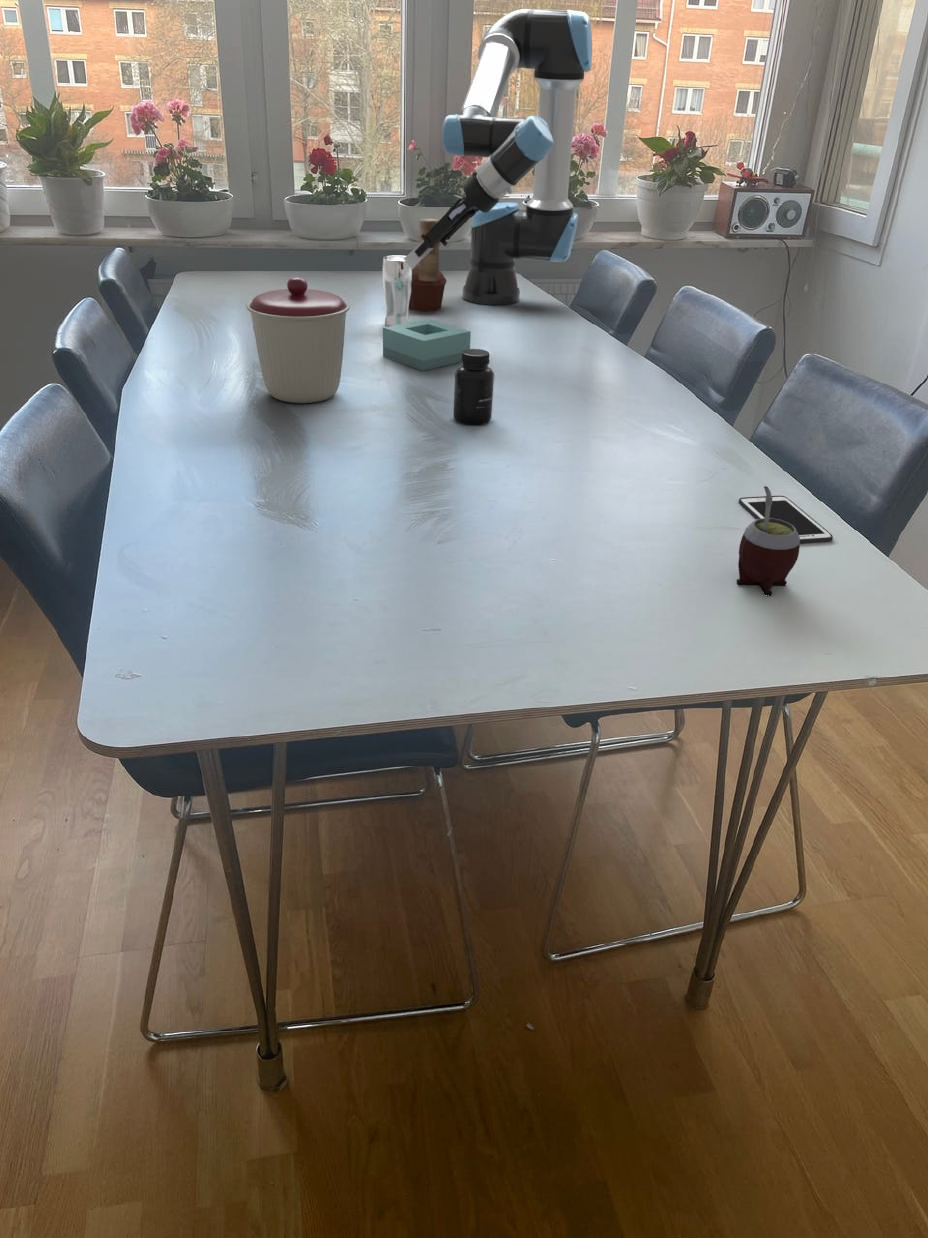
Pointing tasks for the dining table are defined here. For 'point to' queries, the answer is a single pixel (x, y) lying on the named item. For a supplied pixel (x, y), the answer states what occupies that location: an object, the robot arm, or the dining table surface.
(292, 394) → the canister
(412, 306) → the muffin
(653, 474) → the dining table surface
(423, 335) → the socket block
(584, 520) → the dining table surface
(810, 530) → the cell phone
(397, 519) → the dining table surface
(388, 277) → the beer glass
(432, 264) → the dowel pin
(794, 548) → the mate gourd
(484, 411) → the supplement bottle
